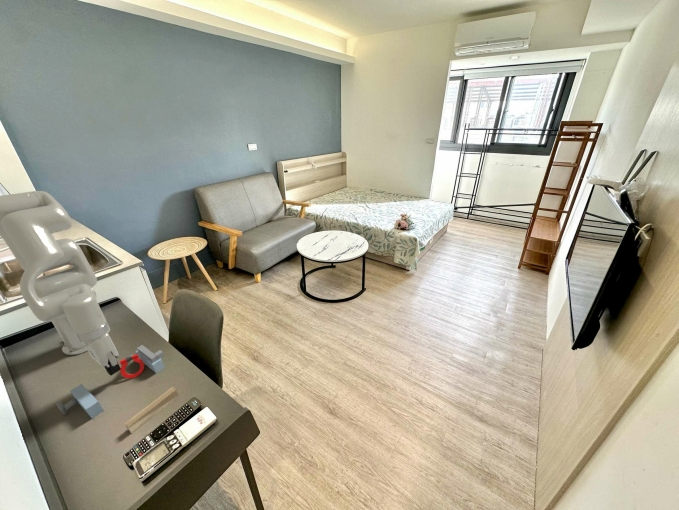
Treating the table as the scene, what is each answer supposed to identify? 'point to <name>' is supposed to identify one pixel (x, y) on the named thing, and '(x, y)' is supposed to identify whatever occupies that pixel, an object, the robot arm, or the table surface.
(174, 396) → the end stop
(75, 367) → the table surface
